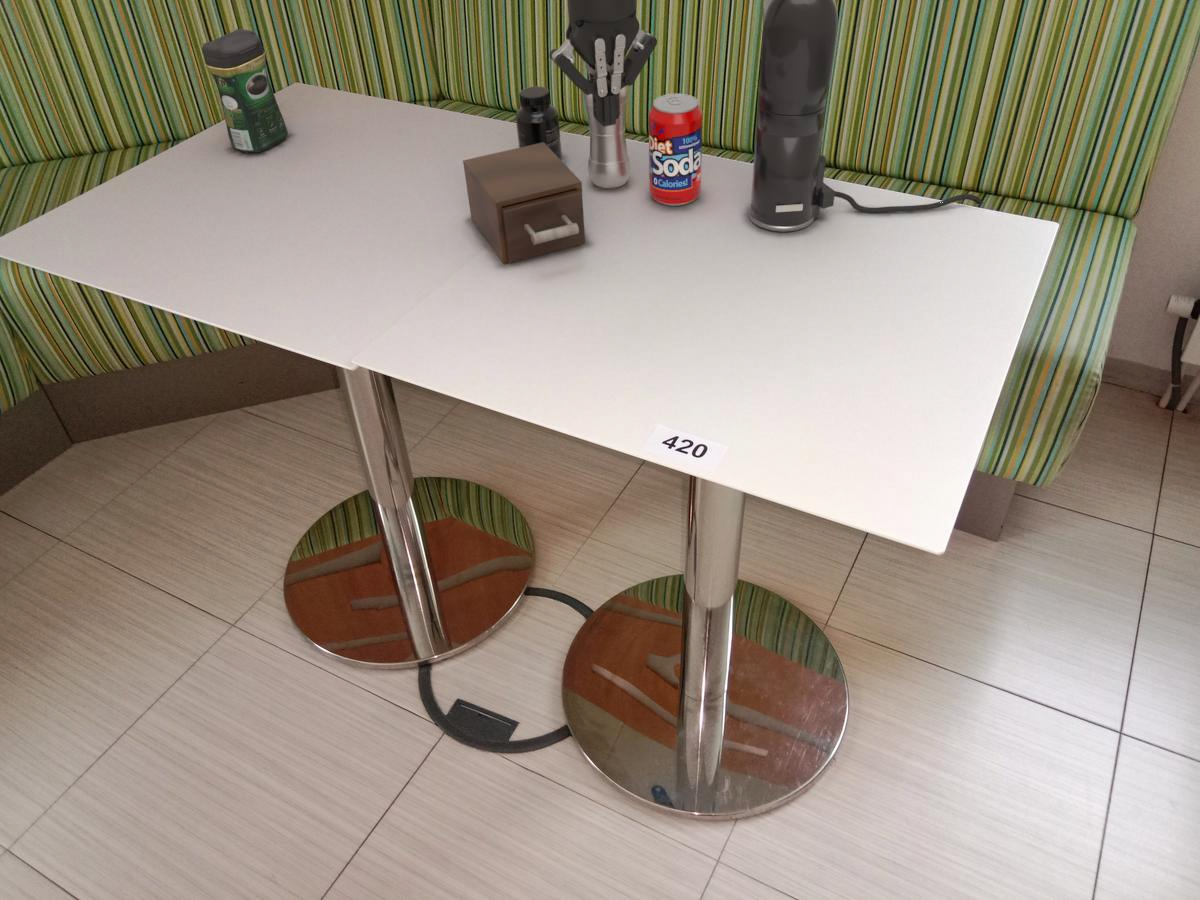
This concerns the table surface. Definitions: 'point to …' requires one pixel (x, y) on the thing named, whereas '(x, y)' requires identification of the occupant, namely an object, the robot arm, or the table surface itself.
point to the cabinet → (513, 187)
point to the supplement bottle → (538, 120)
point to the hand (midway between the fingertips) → (606, 123)
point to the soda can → (675, 149)
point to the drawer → (543, 225)
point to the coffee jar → (245, 91)
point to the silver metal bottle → (608, 147)
